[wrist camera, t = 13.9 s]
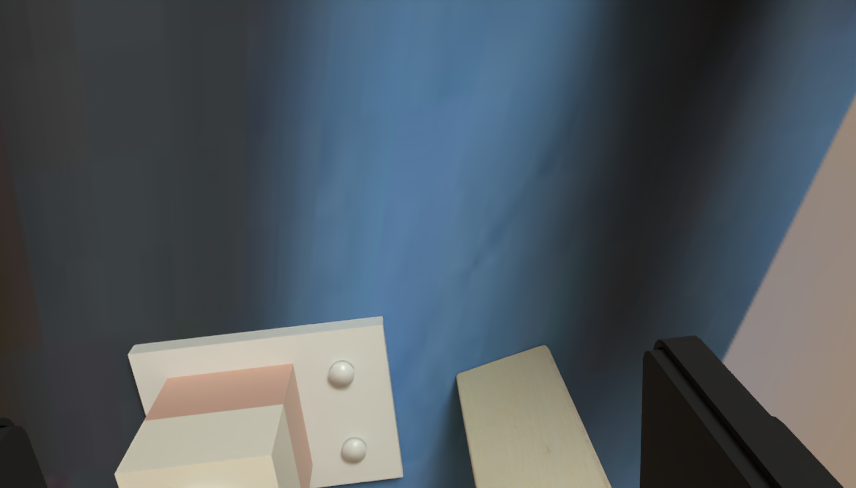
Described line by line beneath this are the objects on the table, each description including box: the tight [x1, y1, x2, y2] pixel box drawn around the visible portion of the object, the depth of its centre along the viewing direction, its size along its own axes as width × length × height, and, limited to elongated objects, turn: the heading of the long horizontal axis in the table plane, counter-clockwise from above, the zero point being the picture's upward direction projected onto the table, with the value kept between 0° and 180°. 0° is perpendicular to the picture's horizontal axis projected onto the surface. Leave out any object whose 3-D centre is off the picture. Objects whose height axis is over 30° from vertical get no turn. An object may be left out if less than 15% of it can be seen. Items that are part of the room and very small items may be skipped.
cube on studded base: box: [115, 316, 403, 488], centre depth 40 cm, size 16×12×10 cm
